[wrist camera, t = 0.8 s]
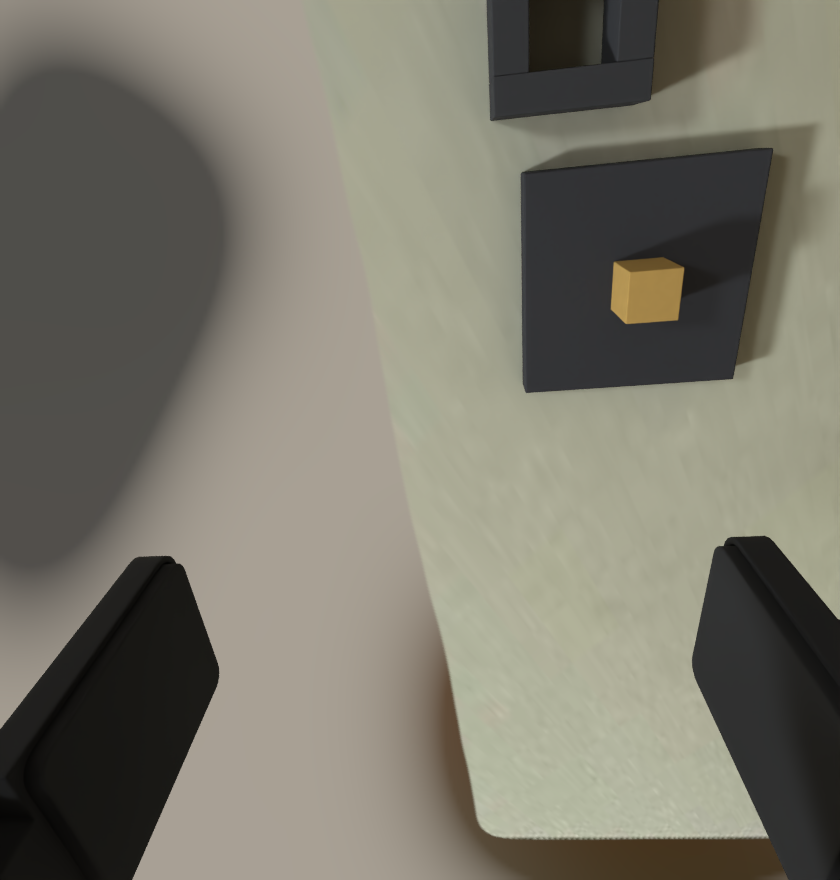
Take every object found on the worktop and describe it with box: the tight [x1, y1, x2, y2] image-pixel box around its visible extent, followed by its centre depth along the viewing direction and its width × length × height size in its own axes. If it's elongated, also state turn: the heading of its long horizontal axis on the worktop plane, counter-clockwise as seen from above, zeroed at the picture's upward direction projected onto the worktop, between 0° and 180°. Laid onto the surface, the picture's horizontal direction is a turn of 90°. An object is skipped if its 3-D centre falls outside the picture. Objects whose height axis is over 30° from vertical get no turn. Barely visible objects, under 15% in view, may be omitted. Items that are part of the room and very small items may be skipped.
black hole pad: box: [487, 0, 659, 121], centre depth 25 cm, size 7×7×3 cm
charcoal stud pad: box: [521, 148, 773, 393], centre depth 29 cm, size 12×12×4 cm
